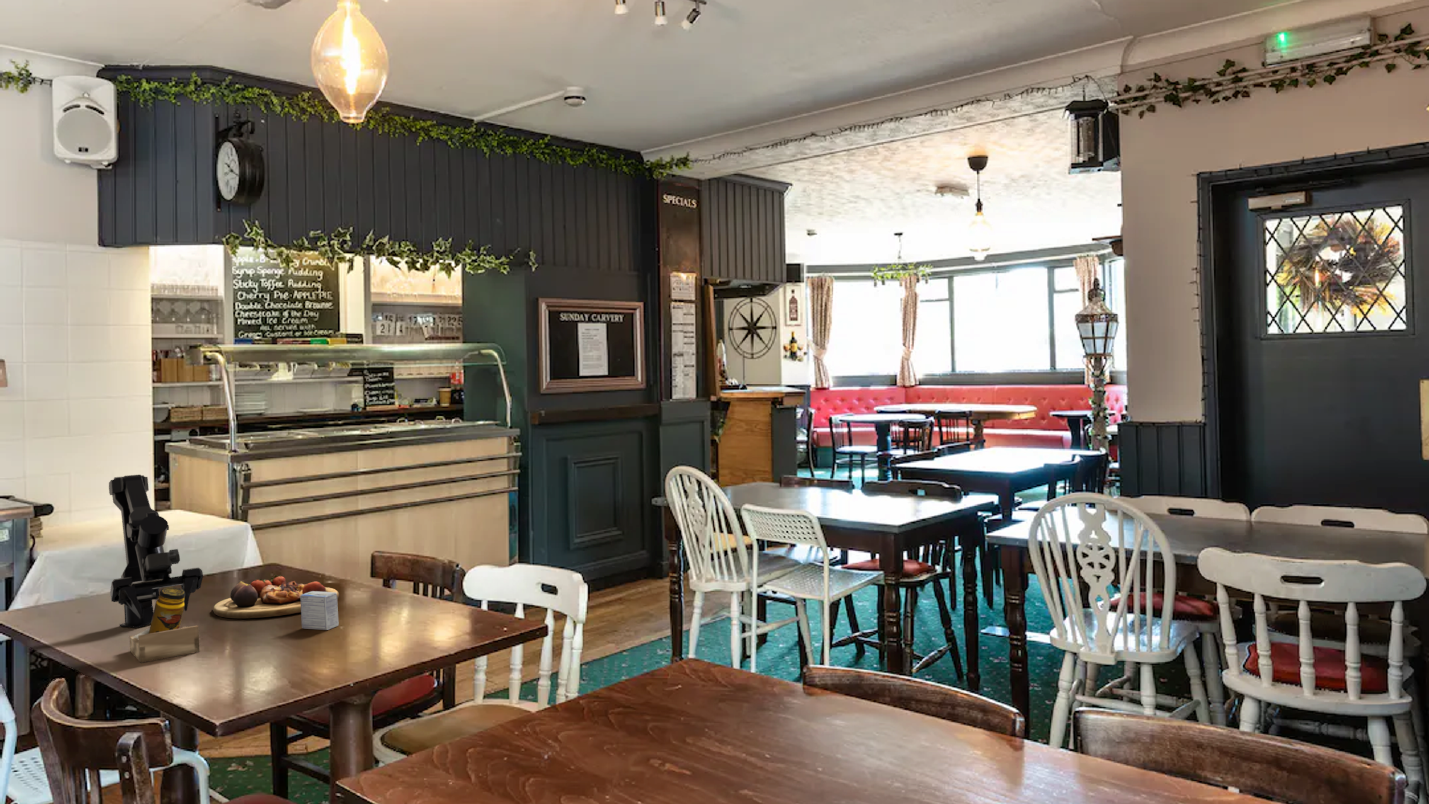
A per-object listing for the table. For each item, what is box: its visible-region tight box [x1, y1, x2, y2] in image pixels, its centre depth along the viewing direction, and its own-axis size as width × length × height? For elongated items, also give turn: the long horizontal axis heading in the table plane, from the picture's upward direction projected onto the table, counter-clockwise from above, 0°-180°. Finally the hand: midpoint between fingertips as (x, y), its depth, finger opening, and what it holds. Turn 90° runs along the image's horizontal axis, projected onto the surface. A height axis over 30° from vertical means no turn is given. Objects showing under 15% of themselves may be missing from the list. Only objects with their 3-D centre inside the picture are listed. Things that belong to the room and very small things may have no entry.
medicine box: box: [300, 591, 339, 631], centre depth 246 cm, size 8×4×9 cm, turn 71°
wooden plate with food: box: [212, 574, 340, 619], centre depth 272 cm, size 32×32×8 cm
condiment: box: [132, 586, 185, 640], centre depth 229 cm, size 7×8×12 cm
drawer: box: [128, 625, 201, 664], centre depth 228 cm, size 13×12×6 cm
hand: (163, 613), depth 227 cm, fingers open, 9 cm apart
